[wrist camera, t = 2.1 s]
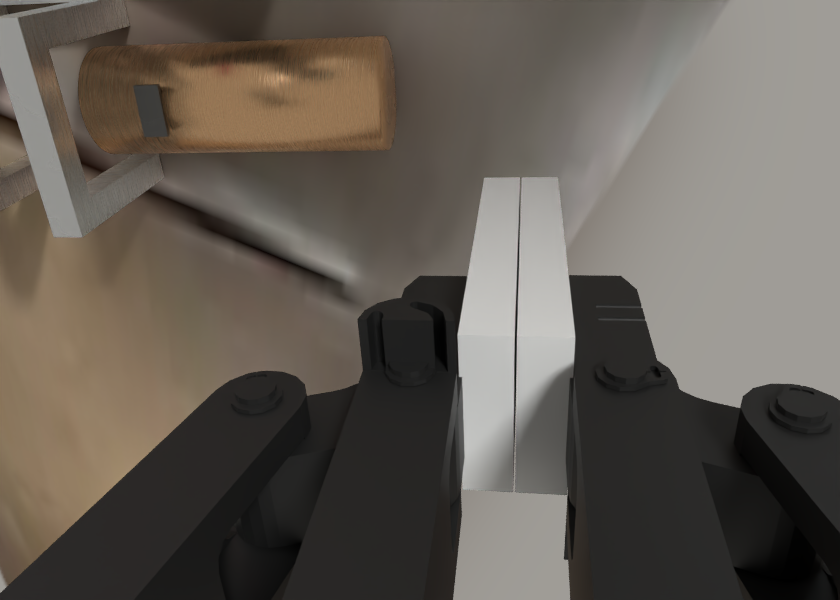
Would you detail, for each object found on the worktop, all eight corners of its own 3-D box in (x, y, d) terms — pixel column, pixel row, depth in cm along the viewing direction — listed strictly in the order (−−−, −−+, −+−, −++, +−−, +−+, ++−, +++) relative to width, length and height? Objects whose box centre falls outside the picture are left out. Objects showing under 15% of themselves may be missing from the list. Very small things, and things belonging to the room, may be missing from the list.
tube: (392, 29, 30) (371, 44, 26) (398, 135, 32) (380, 163, 28) (123, 40, 32) (65, 55, 28) (145, 139, 34) (93, 167, 30)
